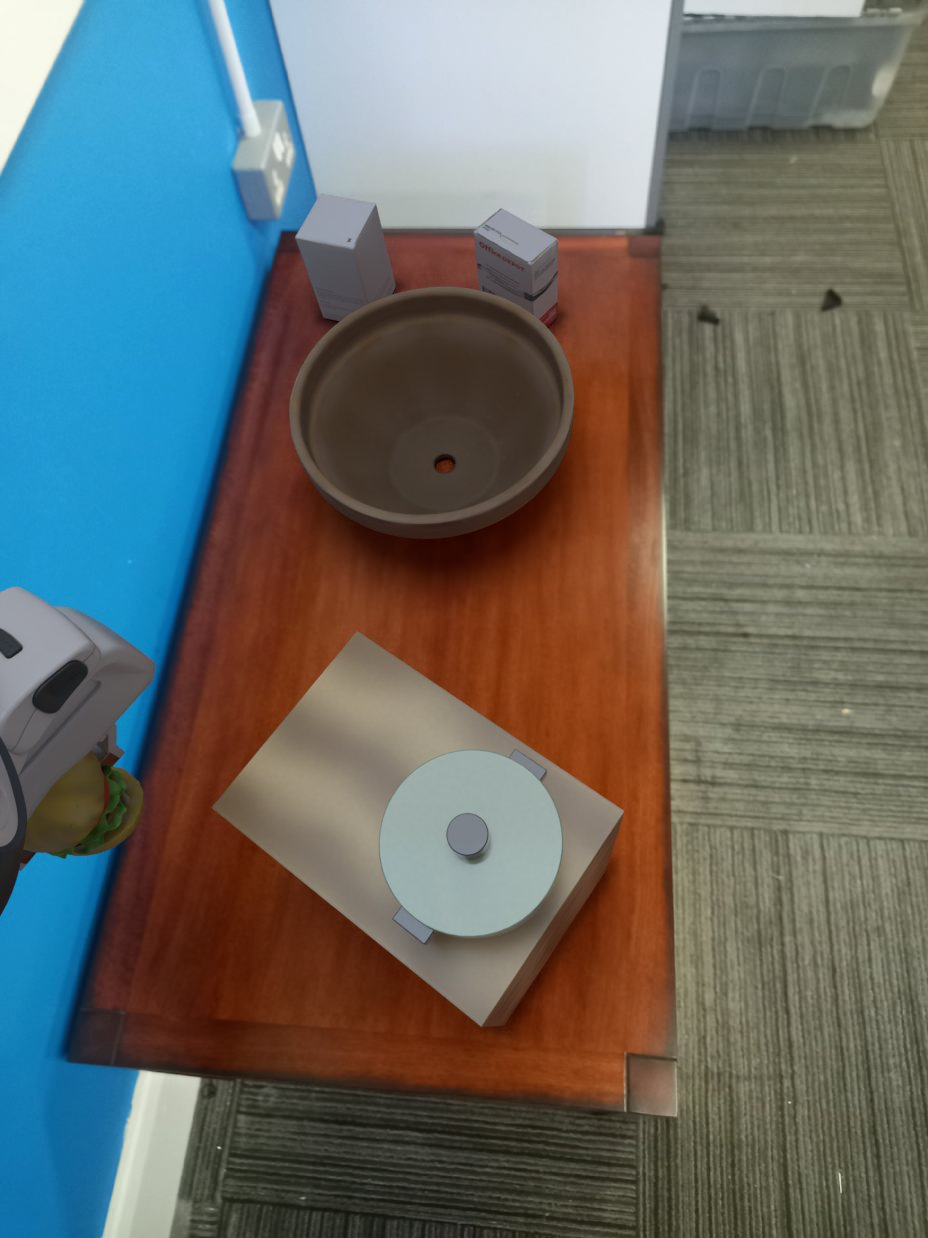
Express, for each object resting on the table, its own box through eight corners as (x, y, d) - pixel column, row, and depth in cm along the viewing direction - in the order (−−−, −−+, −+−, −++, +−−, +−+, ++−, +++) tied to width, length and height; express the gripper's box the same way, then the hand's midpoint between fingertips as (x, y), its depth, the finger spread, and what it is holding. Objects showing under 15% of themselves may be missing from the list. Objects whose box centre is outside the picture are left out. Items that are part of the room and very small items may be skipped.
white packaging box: (397, 286, 111) (379, 201, 100) (374, 331, 109) (352, 249, 97) (344, 274, 113) (320, 190, 101) (320, 318, 110) (292, 236, 99)
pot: (490, 995, 54) (479, 990, 47) (356, 888, 58) (326, 868, 50) (602, 828, 58) (608, 799, 50) (468, 736, 61) (456, 697, 54)
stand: (503, 1026, 75) (481, 1027, 54) (302, 864, 83) (210, 807, 61) (607, 868, 80) (624, 811, 58) (407, 728, 87) (357, 630, 65)
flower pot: (531, 612, 91) (526, 550, 79) (280, 548, 97) (241, 482, 85) (602, 394, 101) (607, 310, 89) (372, 349, 107) (348, 265, 96)
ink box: (559, 316, 107) (560, 237, 96) (533, 342, 106) (530, 264, 95) (506, 284, 110) (500, 203, 99) (479, 308, 108) (470, 230, 98)
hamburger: (177, 788, 62) (96, 735, 51) (125, 889, 59) (28, 855, 49) (86, 752, 64) (-11, 694, 53) (31, 848, 61) (-83, 807, 50)
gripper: (-200, 956, 41) (-22, 974, 53) (113, 620, 47) (208, 707, 59) (-273, 873, 43) (-85, 909, 55) (36, 562, 49) (143, 658, 61)
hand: (68, 803), depth 57 cm, fingers closed on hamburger, 6 cm apart
